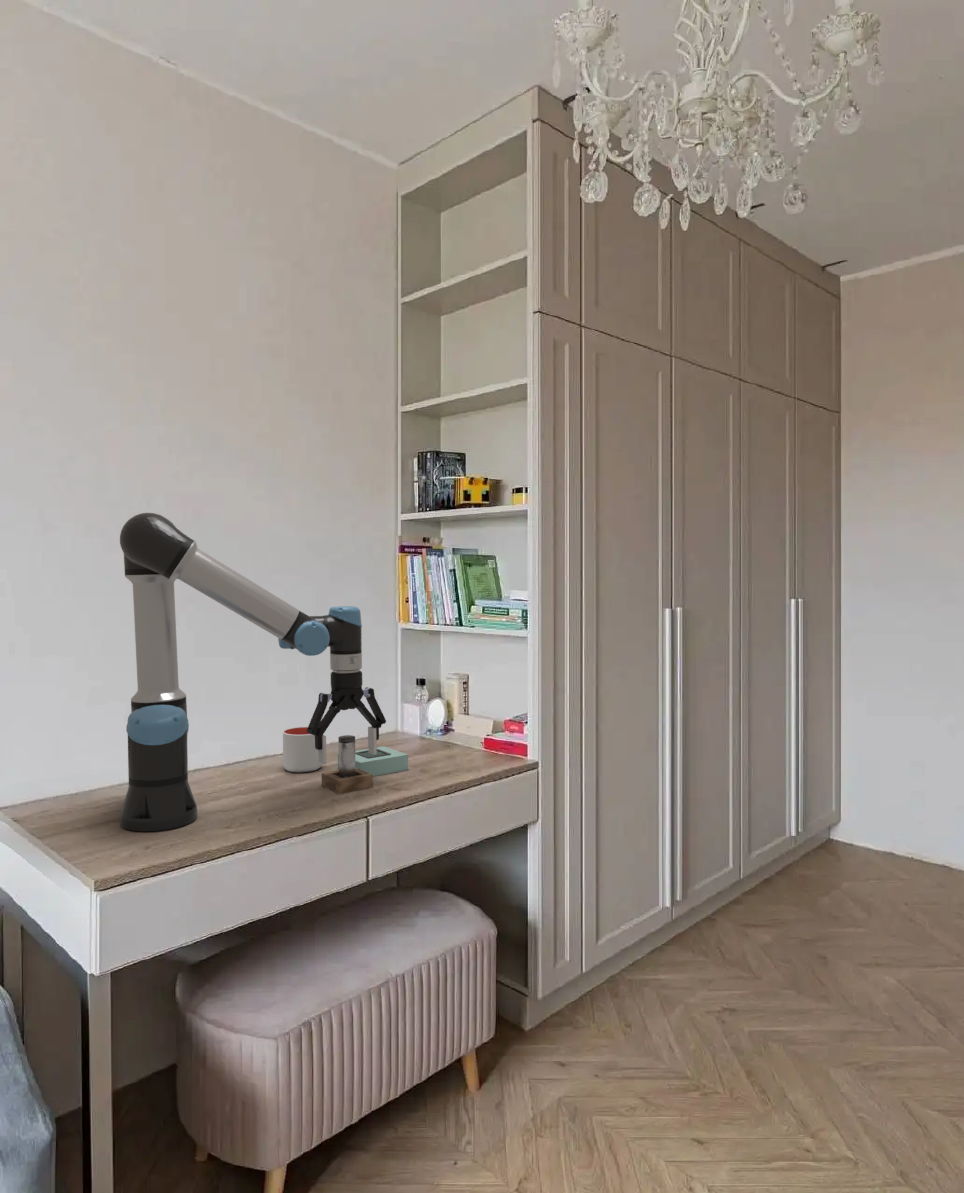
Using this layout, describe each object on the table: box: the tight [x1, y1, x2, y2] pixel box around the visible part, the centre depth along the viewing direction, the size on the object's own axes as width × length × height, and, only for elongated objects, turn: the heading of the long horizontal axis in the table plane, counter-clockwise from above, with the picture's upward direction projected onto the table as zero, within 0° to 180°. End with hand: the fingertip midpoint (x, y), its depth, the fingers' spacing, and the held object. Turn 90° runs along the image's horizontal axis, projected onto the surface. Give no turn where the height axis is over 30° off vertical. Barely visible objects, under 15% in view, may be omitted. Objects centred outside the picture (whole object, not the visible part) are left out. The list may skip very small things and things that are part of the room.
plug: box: [338, 734, 356, 778], centre depth 203 cm, size 4×4×12 cm
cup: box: [282, 726, 323, 773], centre depth 219 cm, size 10×10×10 cm
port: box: [337, 746, 409, 777], centre depth 219 cm, size 14×12×4 cm
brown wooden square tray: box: [321, 768, 374, 794], centre depth 203 cm, size 9×9×3 cm
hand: (348, 758), depth 203 cm, fingers open, 13 cm apart
